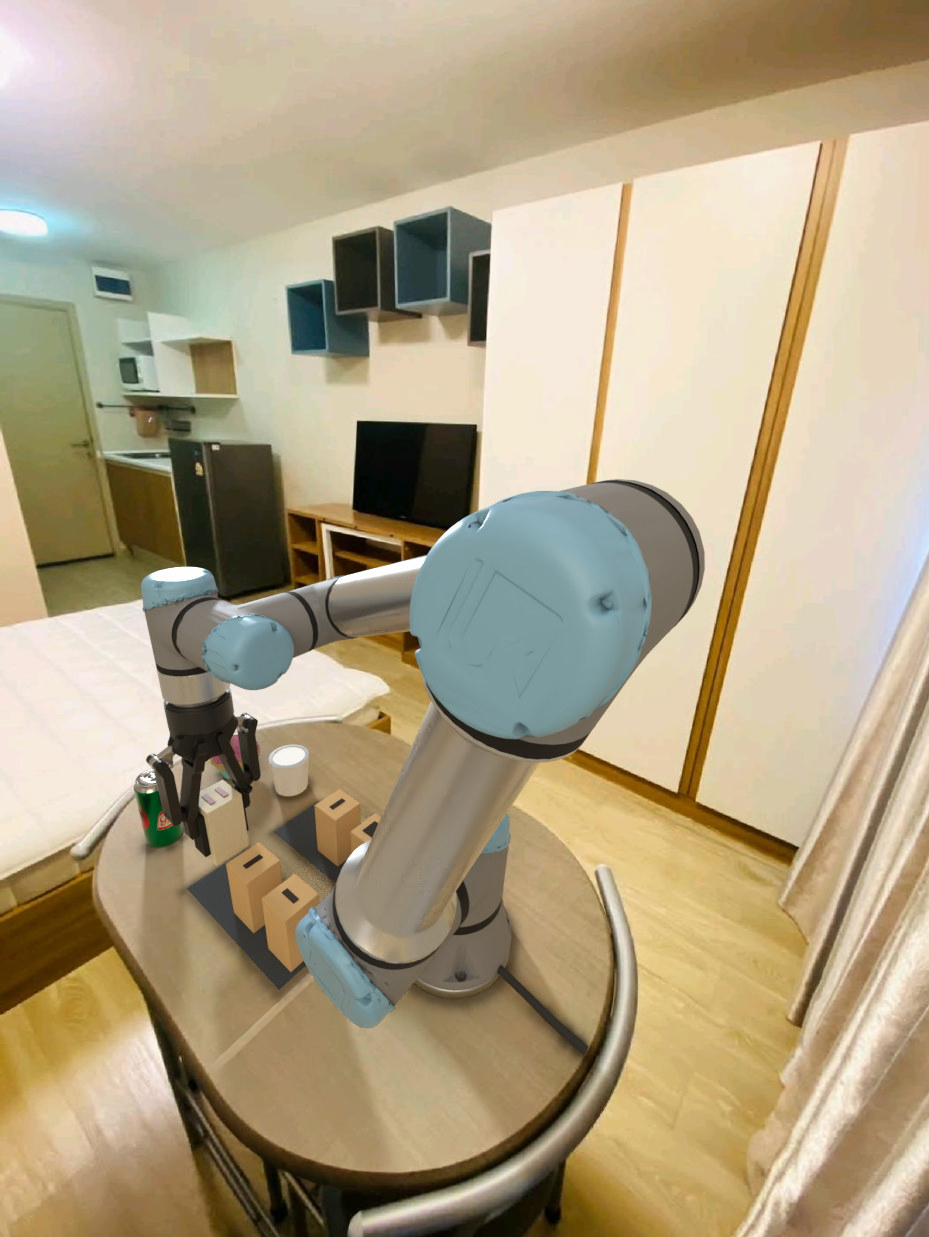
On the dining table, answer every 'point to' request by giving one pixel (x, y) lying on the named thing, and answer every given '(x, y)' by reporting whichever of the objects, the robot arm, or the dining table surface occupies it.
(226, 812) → the cream block
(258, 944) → the left word board
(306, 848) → the right word board
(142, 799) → the soda can
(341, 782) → the dining table surface
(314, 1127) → the dining table surface
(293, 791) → the white cup
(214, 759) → the cupcake
